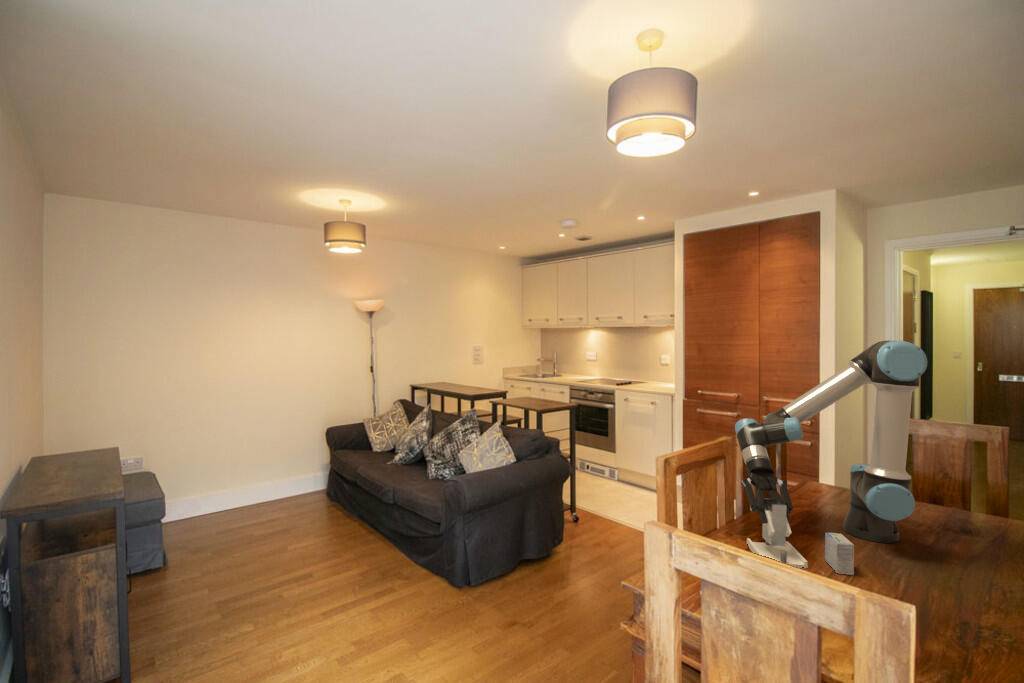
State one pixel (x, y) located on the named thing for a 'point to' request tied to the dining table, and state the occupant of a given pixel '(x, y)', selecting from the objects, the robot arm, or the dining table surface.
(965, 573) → the dining table surface
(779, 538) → the block
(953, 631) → the dining table surface
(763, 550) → the tray
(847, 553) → the medicine box
